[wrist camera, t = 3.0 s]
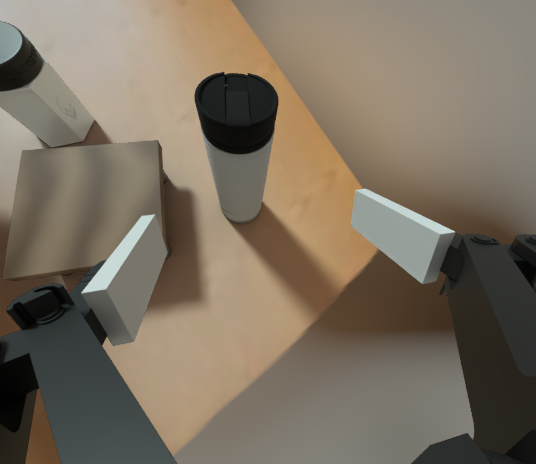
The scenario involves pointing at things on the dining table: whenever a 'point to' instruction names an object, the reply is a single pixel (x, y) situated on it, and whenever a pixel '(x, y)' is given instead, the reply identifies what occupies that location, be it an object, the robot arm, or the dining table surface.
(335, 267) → the dining table surface
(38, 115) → the jar
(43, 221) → the peg shelf
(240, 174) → the travel mug
